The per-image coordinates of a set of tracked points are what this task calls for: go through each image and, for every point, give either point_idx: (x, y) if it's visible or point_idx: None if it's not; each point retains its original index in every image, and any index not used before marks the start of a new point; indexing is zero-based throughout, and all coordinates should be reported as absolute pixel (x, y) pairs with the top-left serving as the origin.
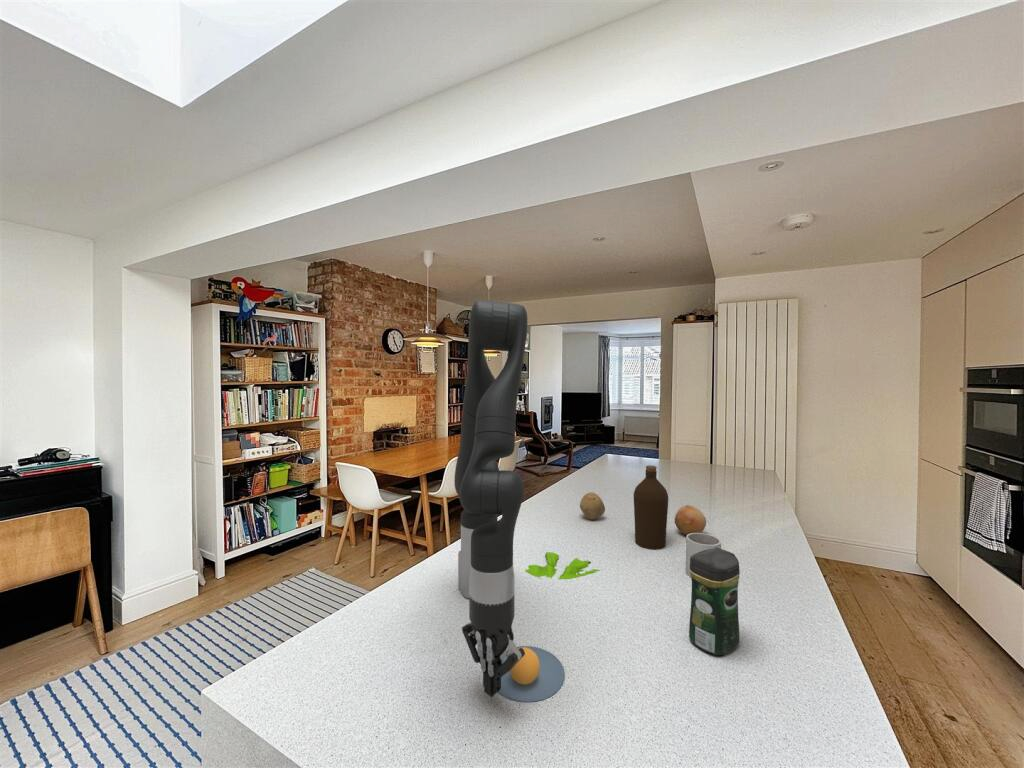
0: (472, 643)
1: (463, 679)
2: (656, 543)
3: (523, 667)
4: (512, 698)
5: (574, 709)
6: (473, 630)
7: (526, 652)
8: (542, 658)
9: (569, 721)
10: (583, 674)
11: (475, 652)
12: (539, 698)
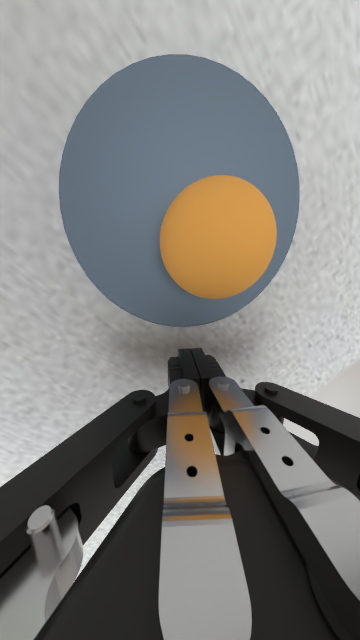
0: (104, 514)
1: (80, 355)
2: None
3: (251, 284)
4: (220, 318)
5: (352, 237)
6: (56, 601)
7: (250, 239)
8: (190, 114)
9: (353, 275)
10: (332, 84)
11: (136, 475)
12: (272, 272)
